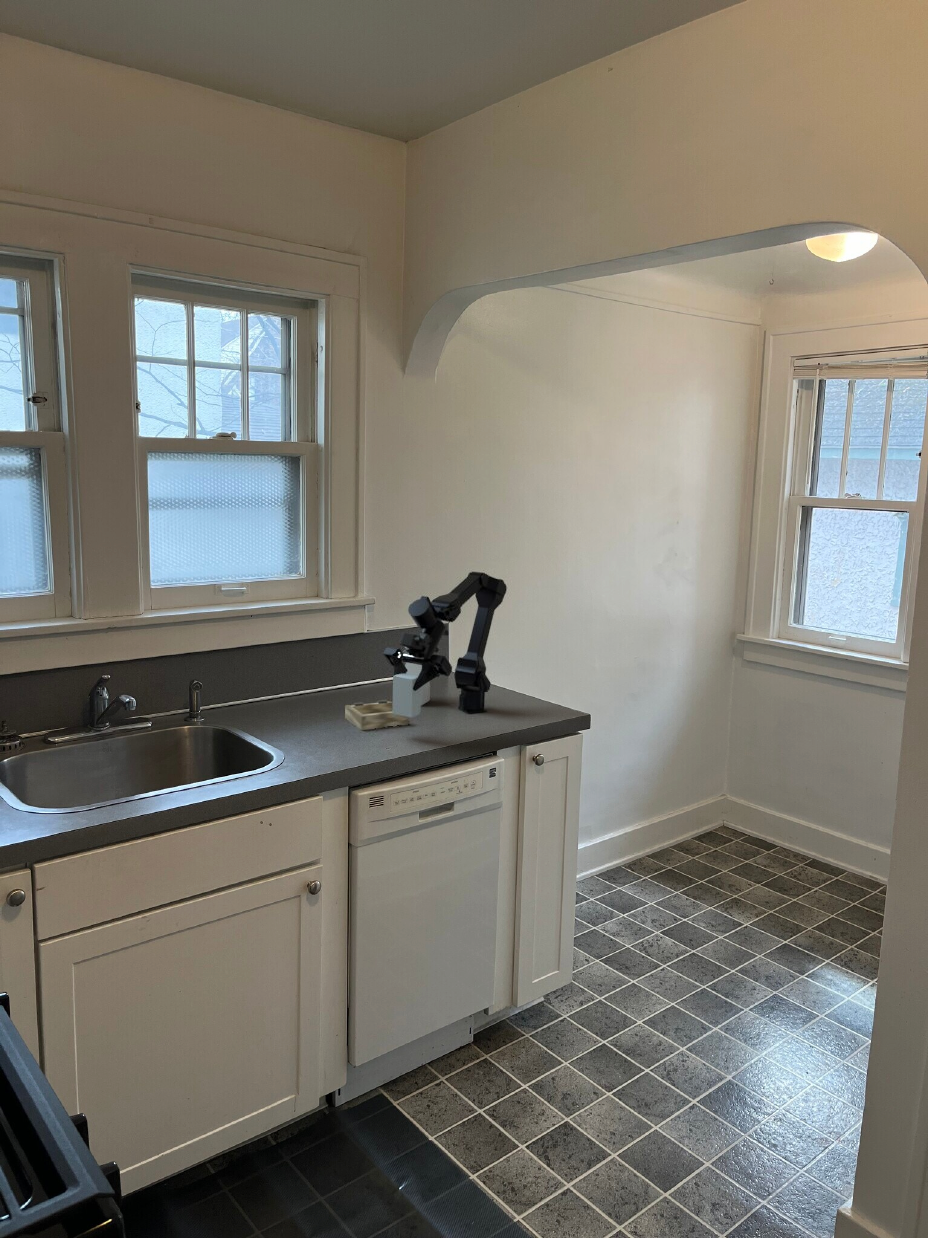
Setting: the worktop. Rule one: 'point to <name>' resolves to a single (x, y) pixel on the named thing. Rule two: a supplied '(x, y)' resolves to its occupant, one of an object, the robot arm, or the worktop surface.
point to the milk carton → (415, 670)
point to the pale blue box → (406, 695)
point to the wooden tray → (374, 715)
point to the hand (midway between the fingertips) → (403, 688)
